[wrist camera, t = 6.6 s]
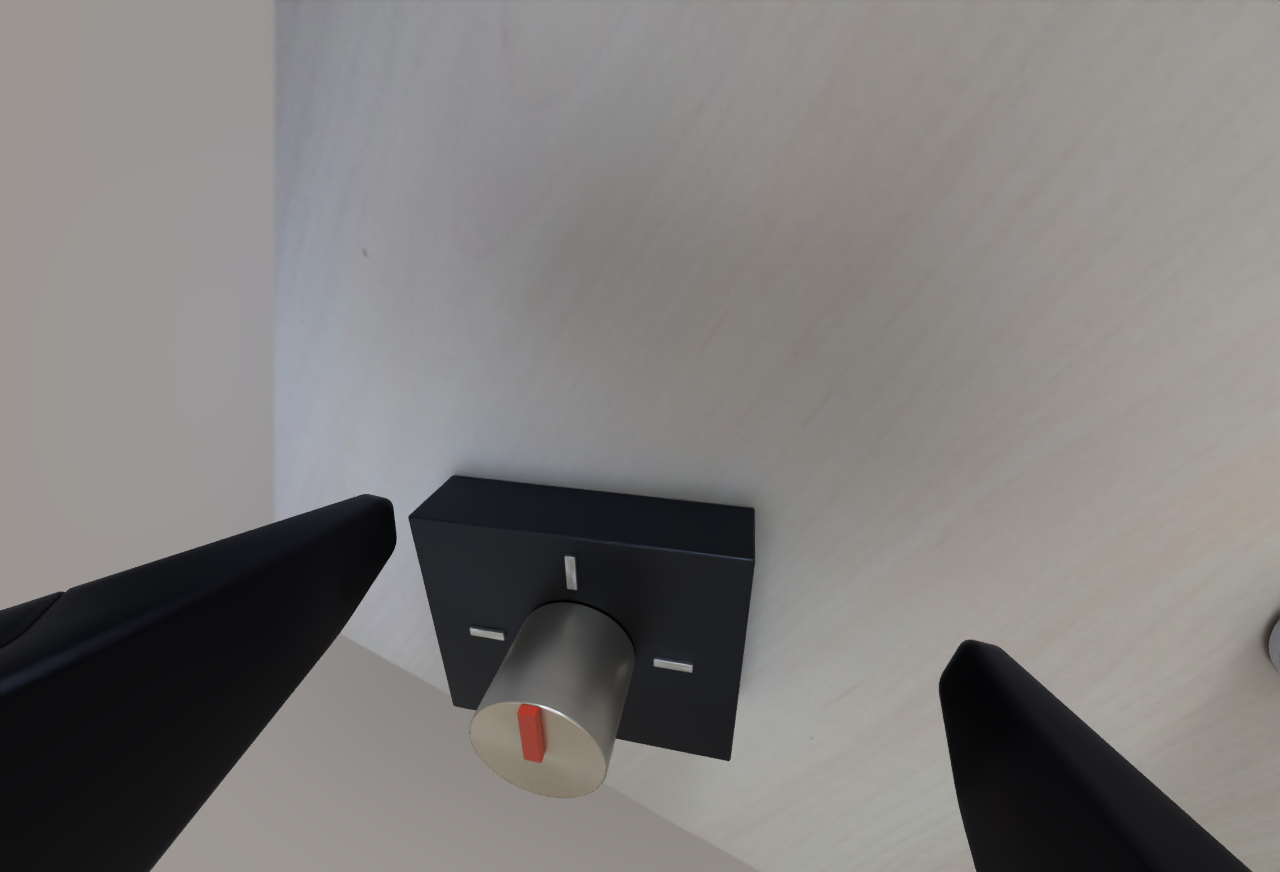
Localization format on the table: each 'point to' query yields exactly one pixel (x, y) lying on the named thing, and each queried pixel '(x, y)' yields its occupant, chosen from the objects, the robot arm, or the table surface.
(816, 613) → the table surface
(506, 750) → the knob
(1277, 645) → the supplement bottle
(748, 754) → the table surface
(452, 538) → the panel
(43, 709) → the robot arm
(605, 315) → the table surface
